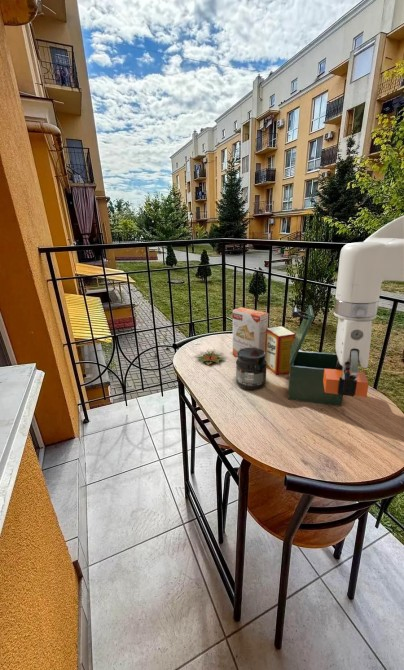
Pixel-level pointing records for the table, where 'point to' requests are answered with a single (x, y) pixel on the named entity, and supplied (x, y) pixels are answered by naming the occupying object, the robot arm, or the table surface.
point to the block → (333, 382)
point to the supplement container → (251, 368)
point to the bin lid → (300, 330)
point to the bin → (312, 378)
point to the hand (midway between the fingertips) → (343, 387)
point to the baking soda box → (278, 349)
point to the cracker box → (249, 329)
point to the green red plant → (210, 358)
